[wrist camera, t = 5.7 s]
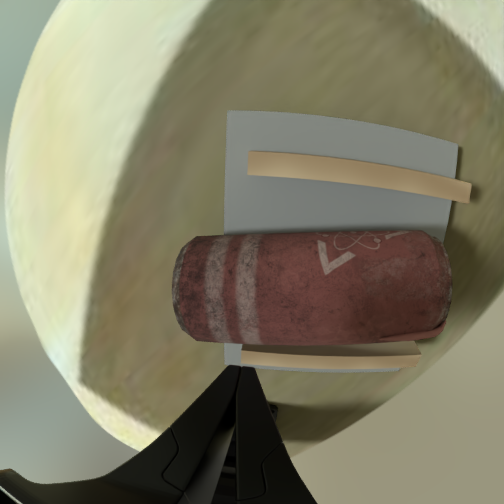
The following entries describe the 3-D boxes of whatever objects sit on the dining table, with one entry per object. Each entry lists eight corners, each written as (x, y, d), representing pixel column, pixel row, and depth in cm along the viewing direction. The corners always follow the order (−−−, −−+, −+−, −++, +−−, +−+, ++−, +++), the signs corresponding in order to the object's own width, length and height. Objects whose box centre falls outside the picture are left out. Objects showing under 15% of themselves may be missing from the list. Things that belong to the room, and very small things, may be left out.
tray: (395, 363, 21) (405, 387, 18) (226, 356, 22) (220, 382, 19) (450, 143, 14) (475, 145, 12) (230, 112, 16) (220, 106, 13)
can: (157, 322, 12) (468, 318, 9) (185, 215, 16) (437, 207, 13) (201, 355, 17) (423, 353, 14) (215, 269, 21) (410, 265, 18)
